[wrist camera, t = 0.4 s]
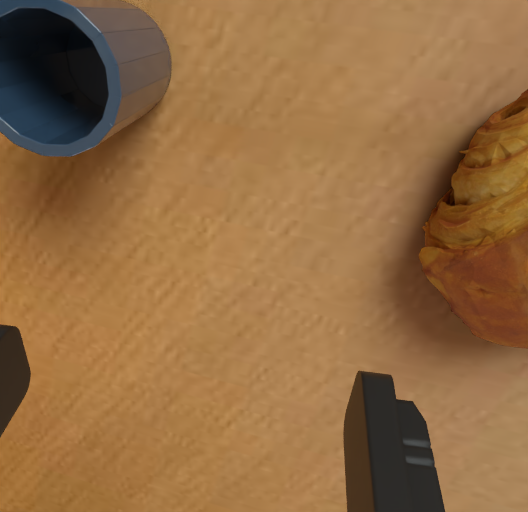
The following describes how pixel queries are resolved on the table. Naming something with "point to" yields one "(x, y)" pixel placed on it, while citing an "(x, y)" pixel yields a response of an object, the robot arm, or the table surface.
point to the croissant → (486, 231)
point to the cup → (77, 72)
